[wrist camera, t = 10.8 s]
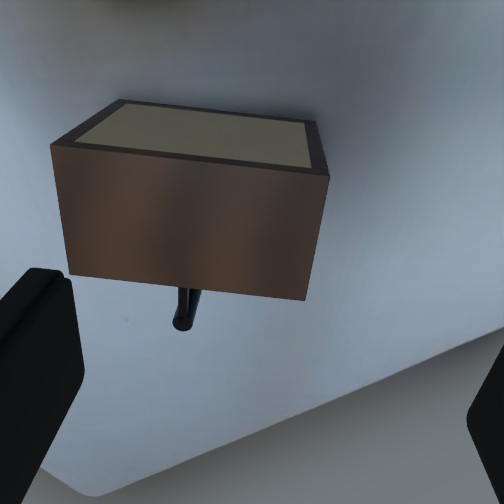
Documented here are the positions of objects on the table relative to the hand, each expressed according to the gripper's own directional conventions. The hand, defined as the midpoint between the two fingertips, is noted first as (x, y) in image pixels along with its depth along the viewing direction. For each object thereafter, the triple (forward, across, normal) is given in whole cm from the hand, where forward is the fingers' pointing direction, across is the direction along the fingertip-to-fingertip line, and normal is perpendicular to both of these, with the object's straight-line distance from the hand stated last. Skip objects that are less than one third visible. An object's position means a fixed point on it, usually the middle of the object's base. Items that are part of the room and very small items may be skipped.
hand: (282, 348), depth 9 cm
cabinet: (+28, +5, +6) cm, 29 cm away
